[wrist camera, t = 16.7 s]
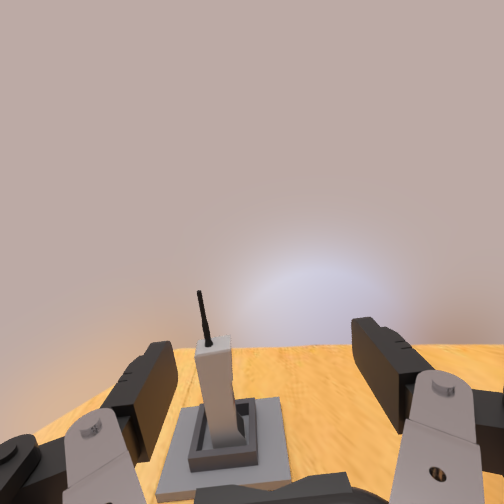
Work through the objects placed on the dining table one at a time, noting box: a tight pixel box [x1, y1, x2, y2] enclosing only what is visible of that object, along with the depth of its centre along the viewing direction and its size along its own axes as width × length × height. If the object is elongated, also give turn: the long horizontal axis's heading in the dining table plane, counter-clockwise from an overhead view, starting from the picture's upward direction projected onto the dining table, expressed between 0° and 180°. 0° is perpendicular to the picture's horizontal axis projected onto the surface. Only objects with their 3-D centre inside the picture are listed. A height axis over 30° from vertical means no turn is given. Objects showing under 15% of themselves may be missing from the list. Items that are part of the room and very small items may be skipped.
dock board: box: [155, 397, 292, 503], centre depth 41 cm, size 18×14×4 cm
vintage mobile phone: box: [194, 290, 247, 449], centre depth 38 cm, size 4×5×25 cm
